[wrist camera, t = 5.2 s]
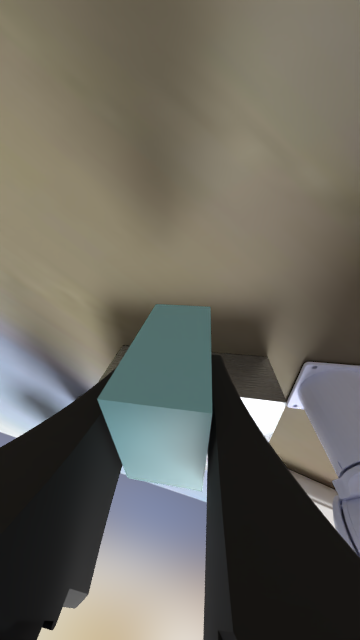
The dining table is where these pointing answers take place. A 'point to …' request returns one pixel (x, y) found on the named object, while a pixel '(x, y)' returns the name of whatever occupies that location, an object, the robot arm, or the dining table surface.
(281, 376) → the dining table surface
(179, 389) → the teal rectangular block
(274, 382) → the box
